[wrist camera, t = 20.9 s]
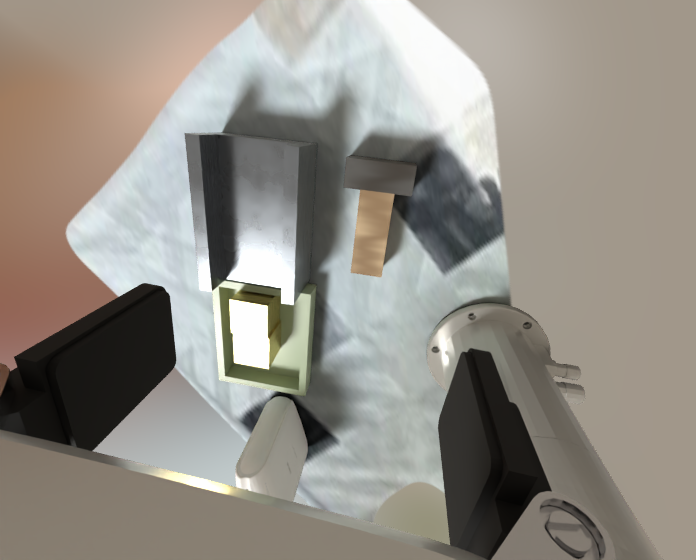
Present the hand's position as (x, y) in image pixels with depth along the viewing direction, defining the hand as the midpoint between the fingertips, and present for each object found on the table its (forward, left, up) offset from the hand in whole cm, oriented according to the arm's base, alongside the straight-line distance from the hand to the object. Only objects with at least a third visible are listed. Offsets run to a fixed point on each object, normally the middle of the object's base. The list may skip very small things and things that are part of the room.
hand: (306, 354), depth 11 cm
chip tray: (+11, +17, -25) cm, 32 cm away
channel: (+11, +2, -25) cm, 27 cm away
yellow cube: (+11, +15, -22) cm, 29 cm away
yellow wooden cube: (+11, +13, -24) cm, 29 cm away
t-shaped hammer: (0, -4, -23) cm, 24 cm away
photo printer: (+8, +32, -25) cm, 41 cm away
